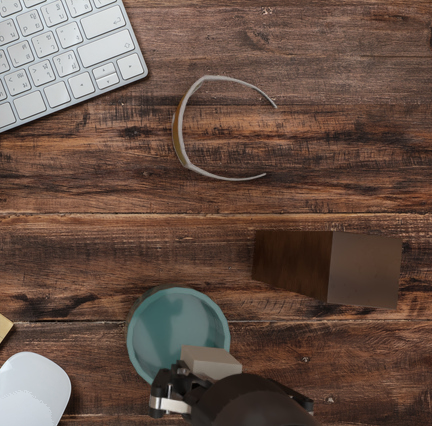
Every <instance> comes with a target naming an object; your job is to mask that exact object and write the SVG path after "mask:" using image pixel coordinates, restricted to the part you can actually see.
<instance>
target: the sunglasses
mask: <svg viewBox="0 0 432 426" xmlns="http://www.w3.org/2000/svg"><path fill="white" fill-rule="evenodd" d="M205 81H207V82H213V81H215V82H217V81H227V82H229V81H230V82H235V83H237V84H240V85H243V86H245V87H248V88H250V89H251V90H254V91H255V92H257V93H258V94H259V95H261V96H262V97H263V98H264V99H265V100H266V101H267V102H268V104H270V105H271V107H272V108H273V109H278V106H277V104H275V102H274V101H273V100H272V99H271V98H270V97H269V95H268V94H266V93H265V92H264V91H263V90H261V89H260V88H259V87H258V86H255V85H253V84H251V83H248V82H246V81H244V80H241V79H238V78H233V77H229V76H225V75H212V74H211V75H210V74H204V75H203V76H201V77H200V78H198V79H197V80H196V81H195V82H194V83H193V84H192V85H191V86H190V87H189V89H187V91H186V92H185V93H184V95H183V96H182V97H181V99H180V100H179V103H178V105H177V106H176V110H175V112H174V113H173V114H172V119H171V137H172V144H173V148H174V151H175V153H176V156H177V159H178V160H179V162H180V164H181V166H182V167H183V168H185V169H189V170H190V171H193V172H194V173H197V174H199V175H201V176H205V177H209V178H212V179H217V180H223V181H232V182H241V181H250V180H253V179H257V178H258V179H259V178H261V177H263V176H266V175H267V173H266V172H265V173H260V174H257V175H253V176H249V177H242V178H241V177H240V178H235V177H234V178H233V177H224V176H221V175H217V174H213V173H211V172H208V171H206V170H204V169H202V168H200V167H198V166H196V165H194V164H193V163H192V162H191V160H190V159H189V156H188V154H187V152H186V149H185V148H186V147H185V143H184V137H183V118H184V113H185V109H186V107H187V103H188V100H189V98H190V97H191V96H192V95H193V94H194V93H195V92H196V91H198V90H199V89H200V88H201V87H202V85H203V83H204V82H205Z"/></svg>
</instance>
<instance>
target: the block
mask: <svg viewBox="0 0 432 426" xmlns="http://www.w3.org/2000/svg"><path fill="white" fill-rule="evenodd" d="M180 360H184V362H185V363H186V364H187V366H188V367H189V369H190V371H192V372H203V373H205V374H206V375H208V376H210V377H211V378H213V379H215V380H220V379H222V378H224V377H227V376H230V375H233V374H239V373H242V372H243V364H242V363H240V361H238V359H236V358H235V357H234V356H233V355H232V354H231V353H230V352H229V353H228V352H227V351H226V350H225V349H221V348H211V347H201V346H190V345H182V348H181V358H180Z"/></svg>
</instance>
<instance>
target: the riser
mask: <svg viewBox="0 0 432 426" xmlns="http://www.w3.org/2000/svg"><path fill="white" fill-rule="evenodd" d="M403 240H404V239H403V238H402V237H394V236H393V237H392V236H385V235H384V236H383V235H375V234H365V233H357V232H347V231H339V230H266V229H265V230H260V229H258V230H256V231H255V238H254V250H253V259H252V268H251V269H252V271H251V280H252V281H256V282H259V283H262V284H266V285H269V286H273V287H275V288H278V289H281V290H285V291H289V292H291V293H294V294H298V295H301V296H304V297H308V298H311V299H314V300H317V301H320V302H323V303H326V304H332V305H333V304H334V305H344V306H352V307H353V306H355V307H363V308H373V309H374V308H375V309H381V310H382V309H383V310H392V311H393V310H394V311H397V310H398V301H399V291H400V290H399V289H400V278H401V277H400V276H401V267H402V266H401V263H402V254H403V253H402V252H403Z"/></svg>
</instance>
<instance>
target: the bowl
mask: <svg viewBox="0 0 432 426" xmlns="http://www.w3.org/2000/svg"><path fill="white" fill-rule="evenodd" d="M123 333H124V334H123V338H124V342H125V347H126V352H127V355H128V358H129V361H130V363H131V364H132V366H133V368H134V370H135V371H136V373H137V375H138V376H140V377H141V378H142V379H143V380H144V381H145V382H146V383H148V384H149V386H151V384H152V382H153V380H154V379H155V377H156V375H157V373H158V371H159V369H163V368H168V369H169V370H171V365H172V364H176V361H177V360H180V358H181V348H182V345H190V346H201V347H211V348H221V349H225V350H226V351H227V352H228V353H229V354H230V347H231V338H232V337H231V332H230V327H229V322H228V319H227V318H226V316H225V314H224V312H223V310H222V309H221V307H220V306H219V304H217V303H216V302H215V301H214V300H213V299H212V298H211V297H210V296H208V294H206V293H204V292H202V291H200V290H198V289H196V288H193V287H192V286H189V285H187V284H182V283H172V282H170V283H163V284H159V285H156V286H153V287H151V288H149V289H147V290H146V291H144V292H143V293H142V294H141V295H140V296H138V298H137V299H136V300H135V301H134V302H133V303H132V305H131V306H130V308H129V311H128V312H127V315H126V317H125V322H124V331H123Z"/></svg>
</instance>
